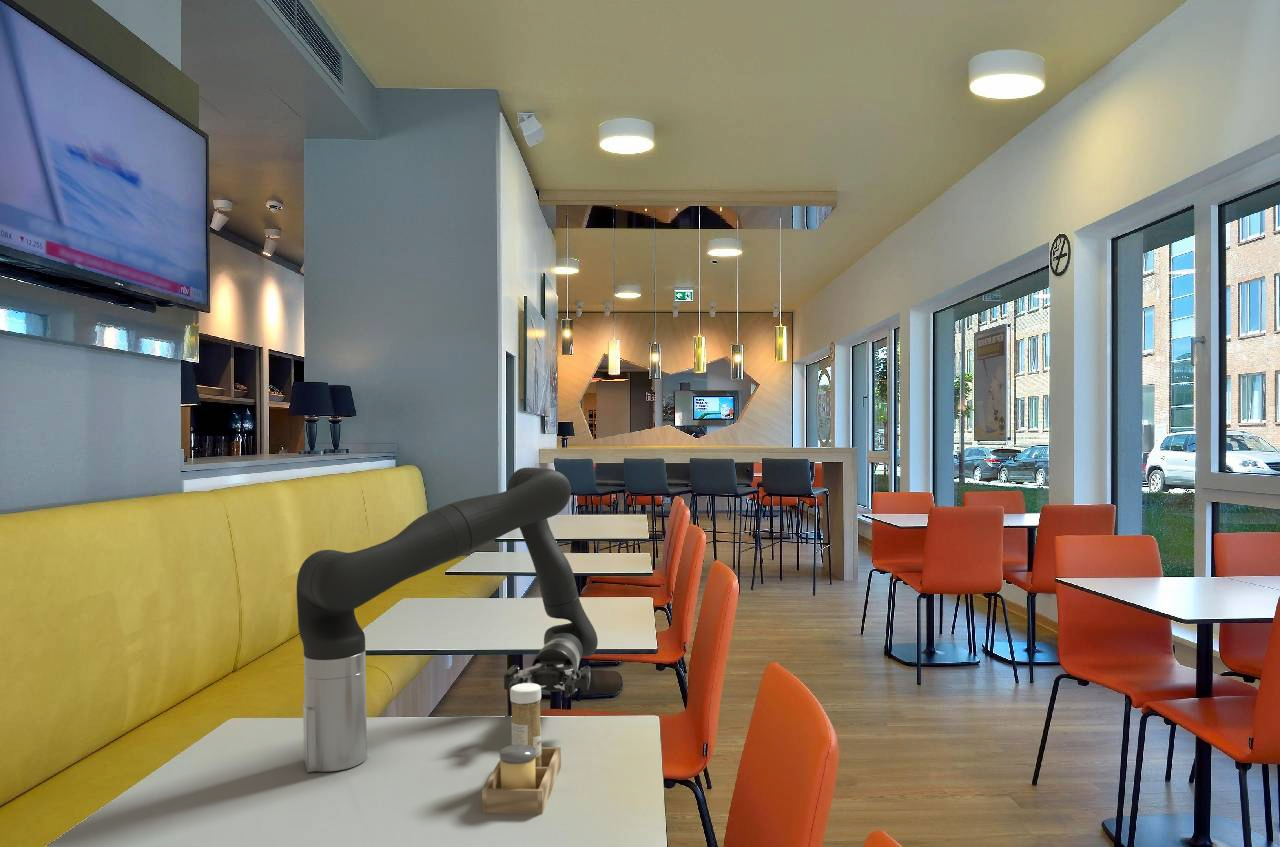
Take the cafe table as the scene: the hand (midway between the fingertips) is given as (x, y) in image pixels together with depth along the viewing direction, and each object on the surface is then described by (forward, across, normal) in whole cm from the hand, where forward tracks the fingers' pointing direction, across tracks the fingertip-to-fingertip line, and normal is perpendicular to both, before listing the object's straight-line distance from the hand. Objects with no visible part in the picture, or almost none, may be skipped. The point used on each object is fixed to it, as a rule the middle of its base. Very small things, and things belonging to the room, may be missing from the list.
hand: (540, 690), depth 139 cm
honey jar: (+19, 0, +10) cm, 21 cm away
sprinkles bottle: (+11, 0, +10) cm, 15 cm away
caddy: (+15, 0, +10) cm, 18 cm away
